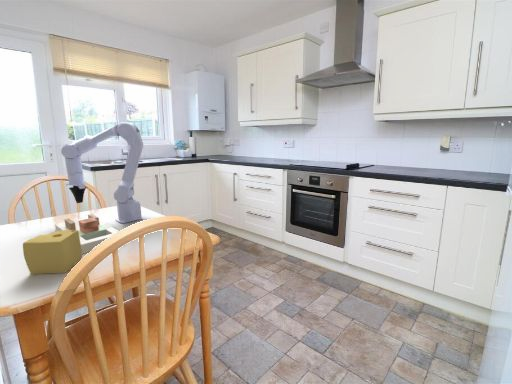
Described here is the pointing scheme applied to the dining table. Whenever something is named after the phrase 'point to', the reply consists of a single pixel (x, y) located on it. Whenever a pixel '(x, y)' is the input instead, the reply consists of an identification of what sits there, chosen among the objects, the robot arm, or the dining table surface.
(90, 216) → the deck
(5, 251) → the dining table surface
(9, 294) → the dining table surface
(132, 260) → the dining table surface
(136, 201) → the robot arm
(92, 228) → the block
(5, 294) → the dining table surface
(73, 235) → the cheese
